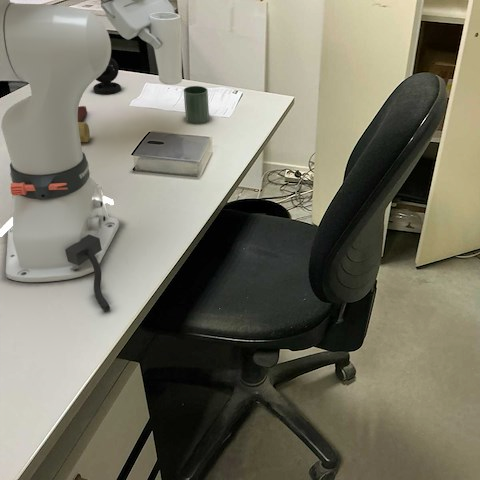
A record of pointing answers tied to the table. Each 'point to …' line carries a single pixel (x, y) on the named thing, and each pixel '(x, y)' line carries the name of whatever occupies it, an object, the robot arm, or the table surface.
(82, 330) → the table surface
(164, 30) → the drinking glass
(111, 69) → the webcam
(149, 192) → the table surface
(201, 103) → the tin
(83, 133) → the gavel
